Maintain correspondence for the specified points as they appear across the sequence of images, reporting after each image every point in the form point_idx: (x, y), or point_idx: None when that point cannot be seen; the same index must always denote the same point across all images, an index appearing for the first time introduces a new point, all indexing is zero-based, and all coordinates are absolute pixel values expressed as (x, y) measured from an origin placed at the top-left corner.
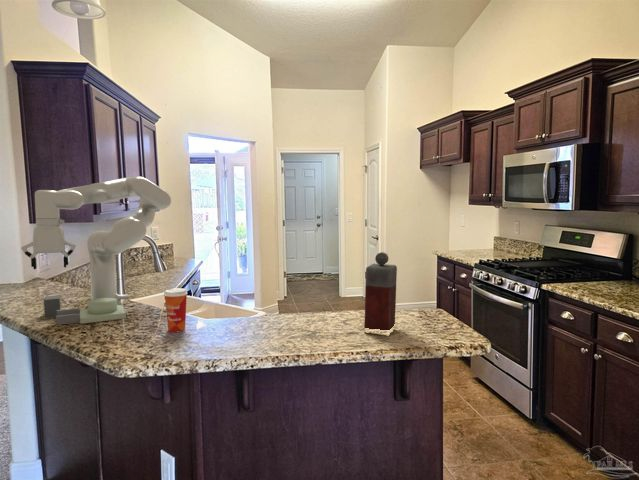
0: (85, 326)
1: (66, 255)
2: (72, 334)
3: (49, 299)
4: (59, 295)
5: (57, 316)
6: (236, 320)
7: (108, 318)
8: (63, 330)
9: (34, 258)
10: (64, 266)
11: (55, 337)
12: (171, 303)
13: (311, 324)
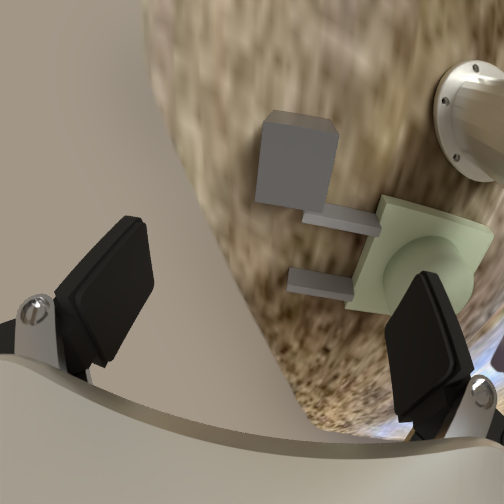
0: (344, 321)
1: (426, 434)
2: (304, 349)
3: (278, 205)
4: (335, 138)
5: (291, 291)
6: (494, 381)
7: None
8: (295, 322)
9: (94, 354)
10: (388, 337)
11: (272, 348)
12: None
13: (499, 405)
